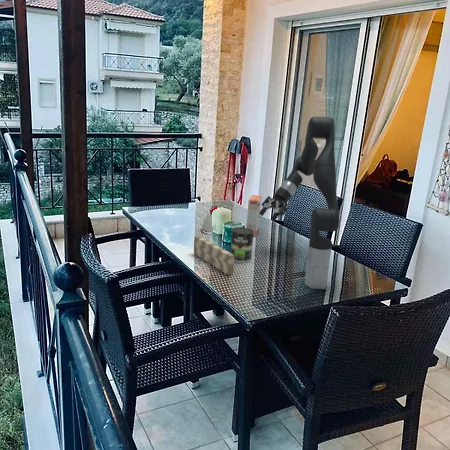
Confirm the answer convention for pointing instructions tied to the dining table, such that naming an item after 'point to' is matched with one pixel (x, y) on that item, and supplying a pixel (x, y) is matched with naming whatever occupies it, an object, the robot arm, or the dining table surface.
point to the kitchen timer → (208, 221)
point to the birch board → (214, 255)
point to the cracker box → (254, 213)
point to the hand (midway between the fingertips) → (266, 217)
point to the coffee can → (242, 244)
